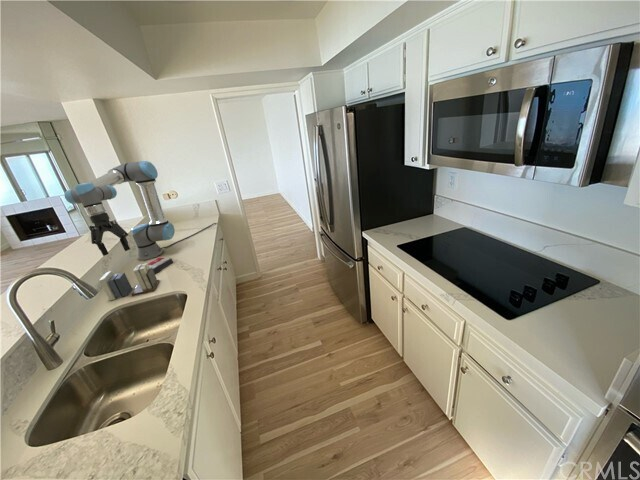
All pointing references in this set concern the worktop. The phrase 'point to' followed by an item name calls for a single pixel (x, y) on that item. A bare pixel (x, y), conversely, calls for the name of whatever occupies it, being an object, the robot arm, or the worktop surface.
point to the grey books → (120, 285)
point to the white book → (107, 285)
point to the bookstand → (145, 279)
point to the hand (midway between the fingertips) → (116, 252)
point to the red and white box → (160, 264)
